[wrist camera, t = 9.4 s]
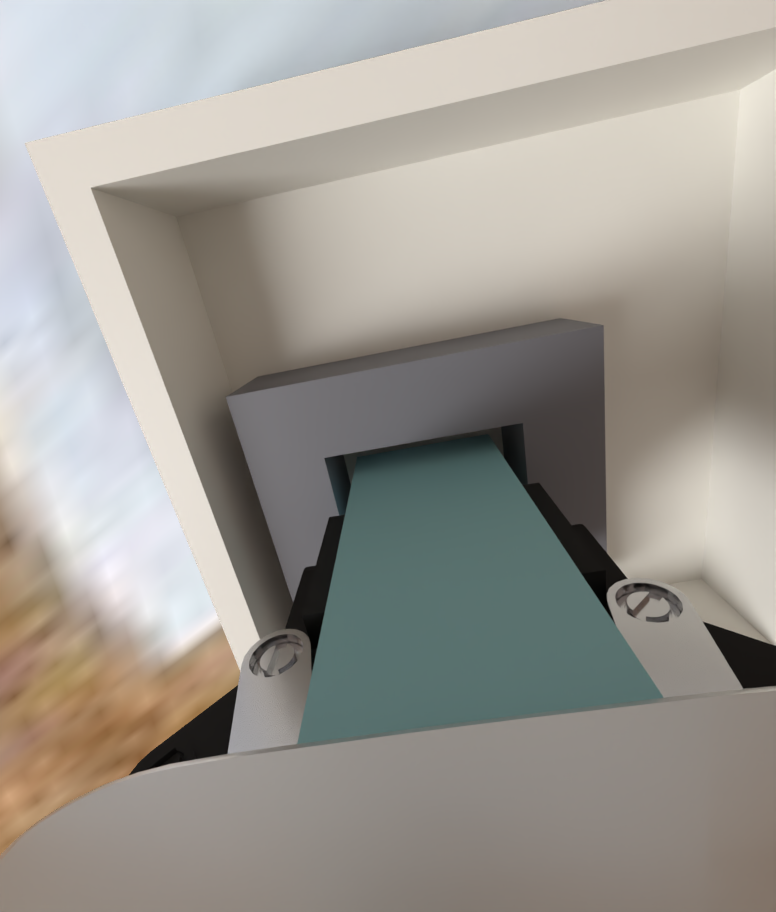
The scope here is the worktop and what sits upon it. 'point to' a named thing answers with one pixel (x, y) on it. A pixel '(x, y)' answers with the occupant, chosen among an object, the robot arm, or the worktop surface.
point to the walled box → (457, 290)
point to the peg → (456, 604)
